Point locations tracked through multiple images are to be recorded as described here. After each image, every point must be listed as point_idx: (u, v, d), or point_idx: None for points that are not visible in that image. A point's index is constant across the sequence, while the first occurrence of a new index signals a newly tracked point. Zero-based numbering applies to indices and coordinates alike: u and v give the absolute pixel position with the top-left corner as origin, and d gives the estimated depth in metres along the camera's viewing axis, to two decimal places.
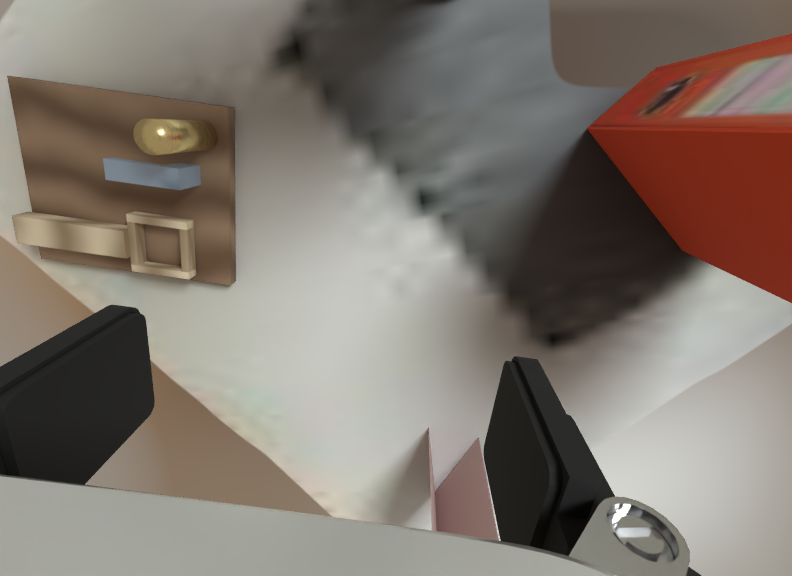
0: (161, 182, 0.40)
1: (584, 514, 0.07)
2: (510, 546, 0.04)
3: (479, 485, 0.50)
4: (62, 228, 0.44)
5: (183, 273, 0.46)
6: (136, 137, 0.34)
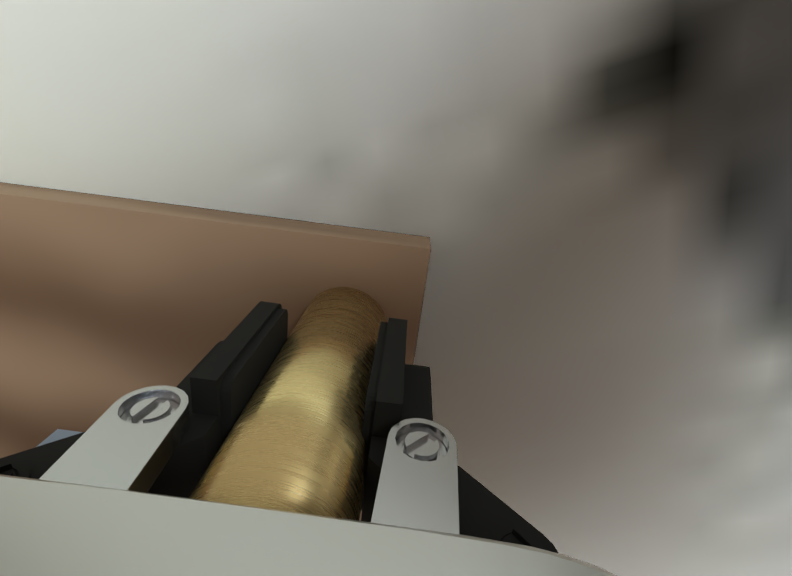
0: None
1: None
2: (510, 546, 0.04)
3: None
4: None
5: None
6: None
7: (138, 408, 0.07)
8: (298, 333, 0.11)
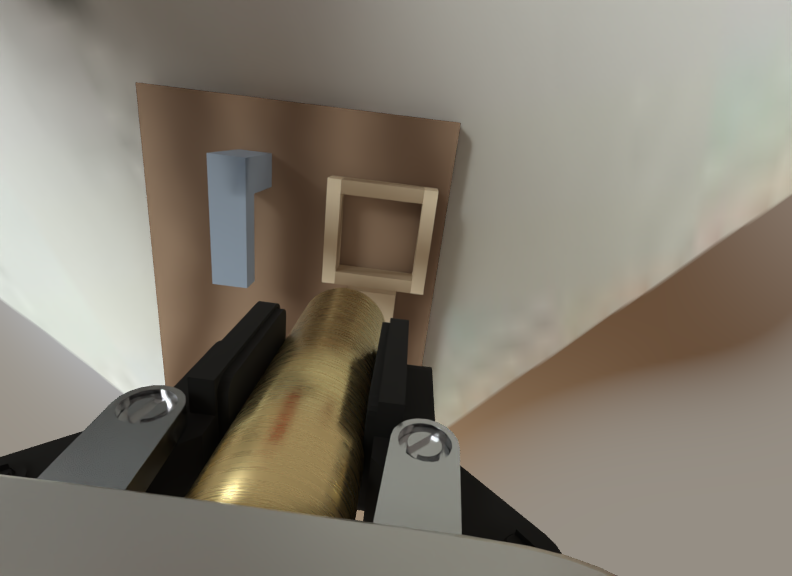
0: (236, 190, 0.22)
1: None
2: (510, 546, 0.04)
3: None
4: None
5: (426, 201, 0.24)
6: None
7: (135, 408, 0.07)
8: (296, 334, 0.11)
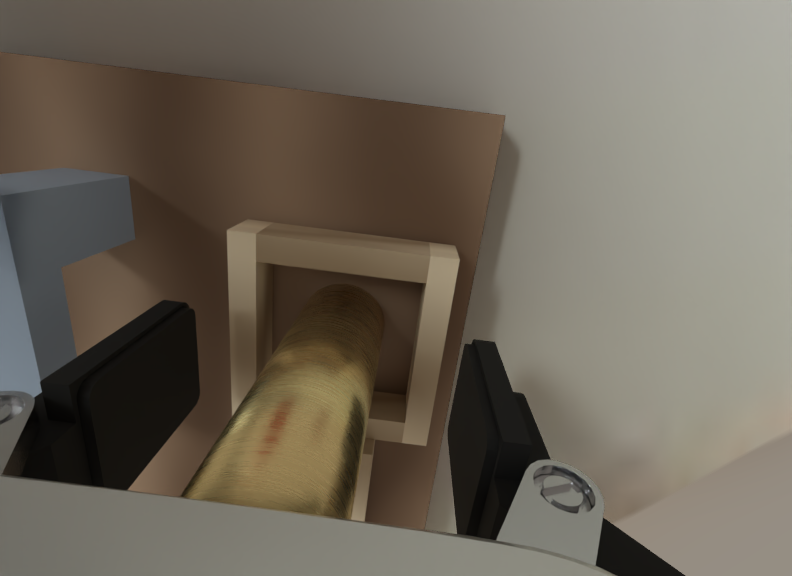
0: None
1: (519, 476, 0.07)
2: (510, 546, 0.04)
3: None
4: None
5: (434, 278, 0.12)
6: None
7: None
8: (296, 327, 0.11)
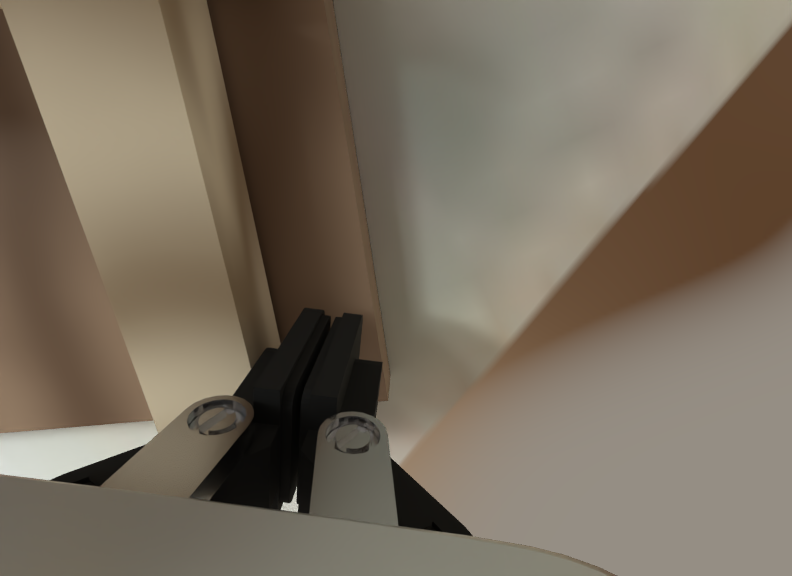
0: None
1: None
2: (510, 546, 0.04)
3: None
4: (134, 297, 0.10)
5: None
6: None
7: (207, 417, 0.07)
8: None
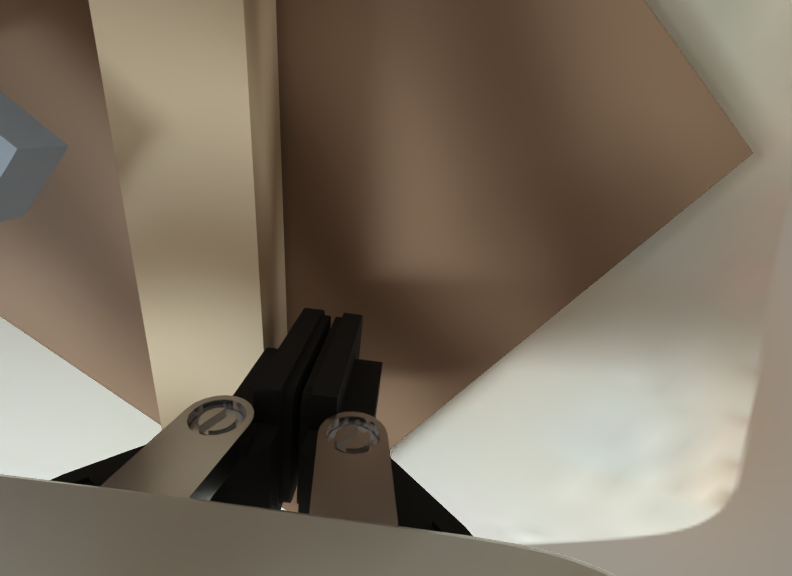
0: None
1: None
2: (510, 546, 0.04)
3: None
4: (158, 252, 0.10)
5: None
6: None
7: (206, 417, 0.07)
8: None
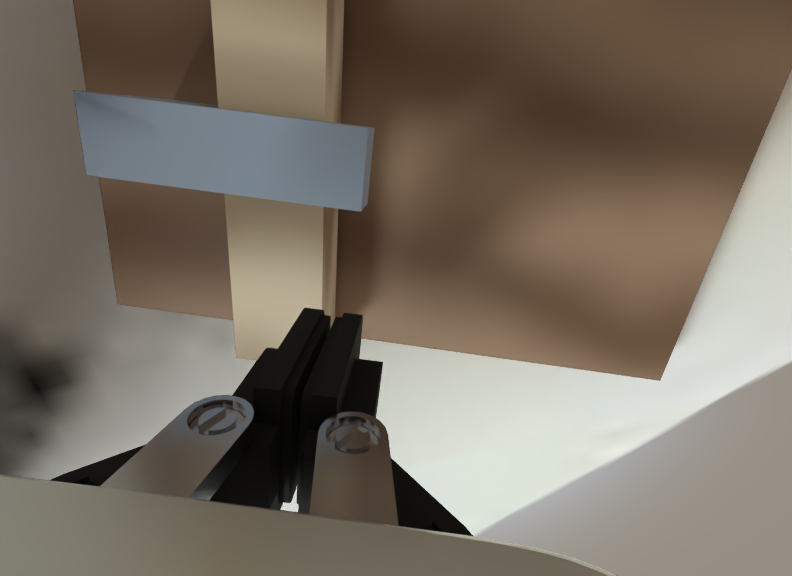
0: (145, 121, 0.10)
1: None
2: (510, 546, 0.04)
3: None
4: (245, 209, 0.13)
5: None
6: None
7: (206, 417, 0.07)
8: None
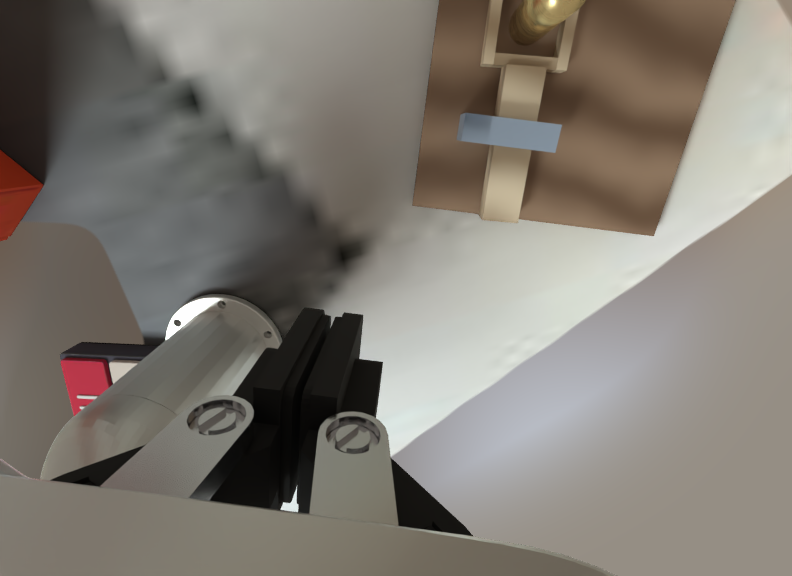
0: (487, 122, 0.31)
1: None
2: (510, 546, 0.04)
3: None
4: (500, 155, 0.33)
5: None
6: (563, 11, 0.24)
7: (206, 417, 0.07)
8: (518, 26, 0.30)
